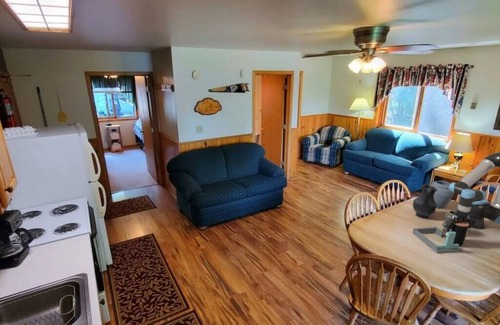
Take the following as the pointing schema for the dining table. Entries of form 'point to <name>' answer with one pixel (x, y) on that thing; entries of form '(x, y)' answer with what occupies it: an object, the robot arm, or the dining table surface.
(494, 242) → the dining table surface
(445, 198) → the vase
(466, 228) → the coffee jar
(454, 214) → the apothecary jar
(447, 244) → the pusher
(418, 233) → the grey piece
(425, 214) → the pitcher
